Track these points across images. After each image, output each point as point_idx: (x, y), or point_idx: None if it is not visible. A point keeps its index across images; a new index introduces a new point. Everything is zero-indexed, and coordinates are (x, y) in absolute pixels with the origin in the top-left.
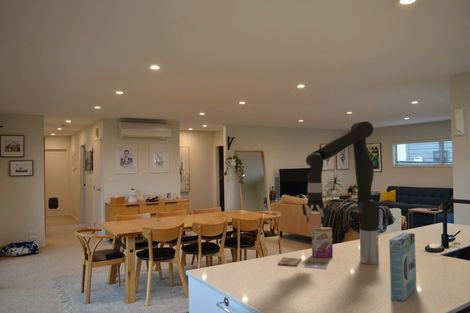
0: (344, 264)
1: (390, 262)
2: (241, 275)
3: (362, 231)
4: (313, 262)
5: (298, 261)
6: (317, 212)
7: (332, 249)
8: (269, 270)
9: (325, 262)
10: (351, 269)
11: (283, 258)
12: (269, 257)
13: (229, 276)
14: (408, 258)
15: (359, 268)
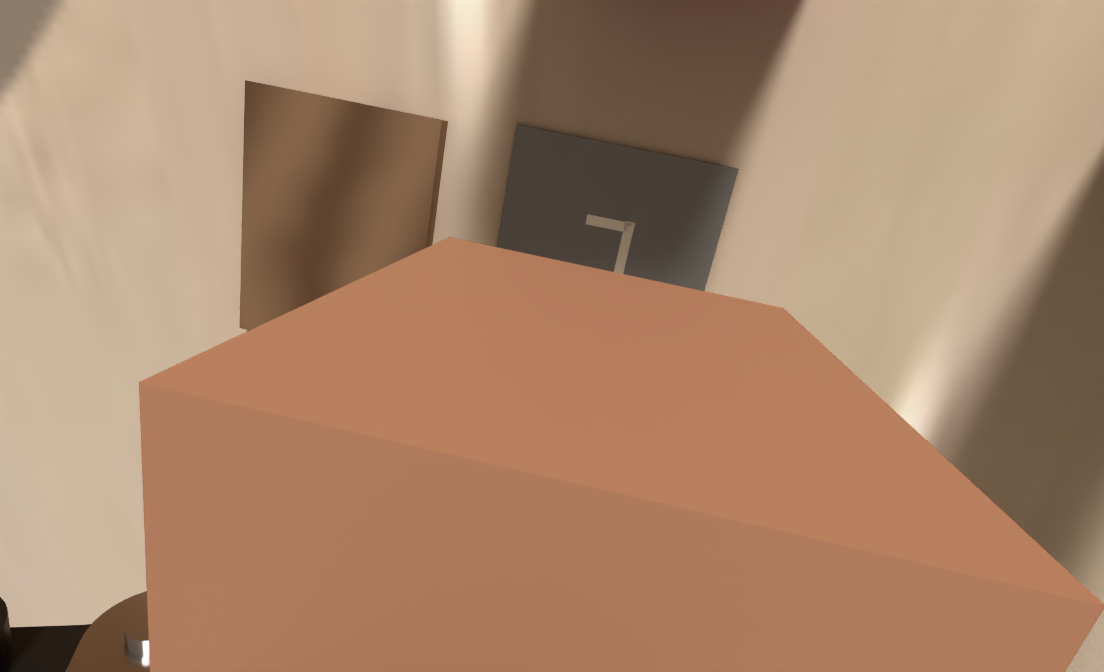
0: (897, 230)
1: None
2: (76, 579)
3: None
4: (573, 200)
5: (419, 242)
6: (652, 614)
7: None
8: None
9: (701, 186)
10: (911, 401)
11: (257, 133)
12: (104, 21)
13: (16, 599)
14: None
15: (1006, 364)
